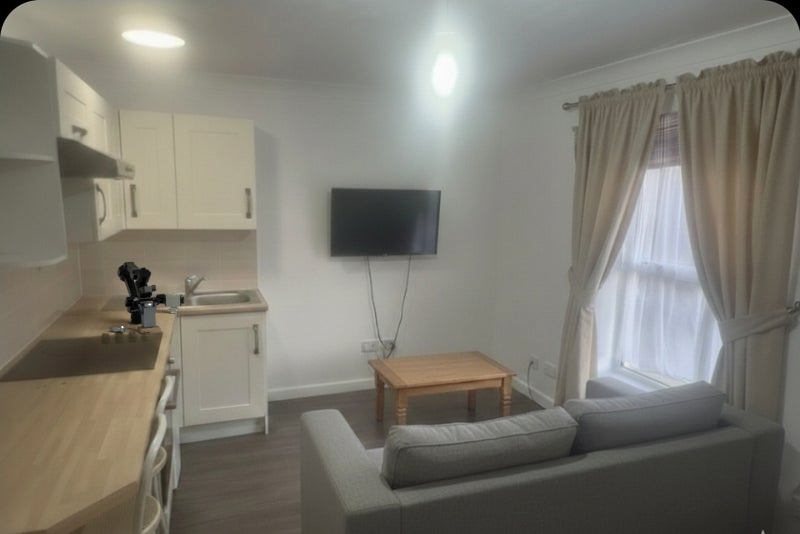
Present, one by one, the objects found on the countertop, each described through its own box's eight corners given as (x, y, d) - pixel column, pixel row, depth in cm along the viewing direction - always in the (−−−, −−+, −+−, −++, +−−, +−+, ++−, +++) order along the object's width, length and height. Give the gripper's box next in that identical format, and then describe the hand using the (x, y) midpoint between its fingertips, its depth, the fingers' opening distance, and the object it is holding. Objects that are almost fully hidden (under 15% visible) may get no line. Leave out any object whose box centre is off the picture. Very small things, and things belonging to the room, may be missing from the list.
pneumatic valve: (183, 313, 305) (183, 293, 303) (162, 314, 301) (162, 294, 300) (185, 311, 310) (184, 292, 308) (164, 312, 307) (163, 292, 305)
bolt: (108, 332, 257) (108, 325, 257) (113, 330, 261) (113, 323, 260) (121, 333, 256) (121, 326, 256) (126, 331, 260) (126, 324, 259)
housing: (141, 325, 262) (141, 302, 261) (153, 324, 266) (152, 301, 264) (144, 327, 259) (143, 304, 257) (155, 326, 262) (155, 303, 261)
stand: (136, 330, 263) (136, 326, 263) (155, 328, 269) (155, 324, 269) (141, 333, 256) (141, 330, 256) (160, 331, 262) (160, 327, 262)
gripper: (125, 281, 256) (131, 306, 249) (164, 278, 268) (171, 302, 262) (121, 294, 263) (128, 319, 256) (160, 291, 275) (167, 314, 269)
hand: (149, 313), depth 260 cm, fingers closed on housing, 5 cm apart
